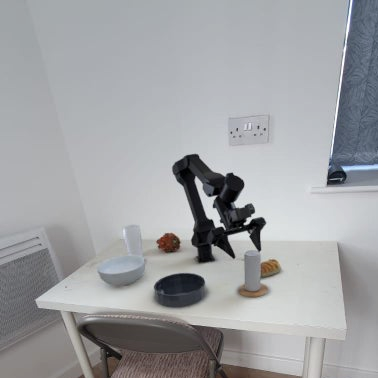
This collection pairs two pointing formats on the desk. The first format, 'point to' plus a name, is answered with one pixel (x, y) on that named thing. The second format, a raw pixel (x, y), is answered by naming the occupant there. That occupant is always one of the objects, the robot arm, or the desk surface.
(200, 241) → the robot arm
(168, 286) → the pan
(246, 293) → the coaster
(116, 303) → the desk surface
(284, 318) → the desk surface
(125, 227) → the drinking glass
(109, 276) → the cereal bowl
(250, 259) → the beverage can
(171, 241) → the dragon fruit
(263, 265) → the pastry
